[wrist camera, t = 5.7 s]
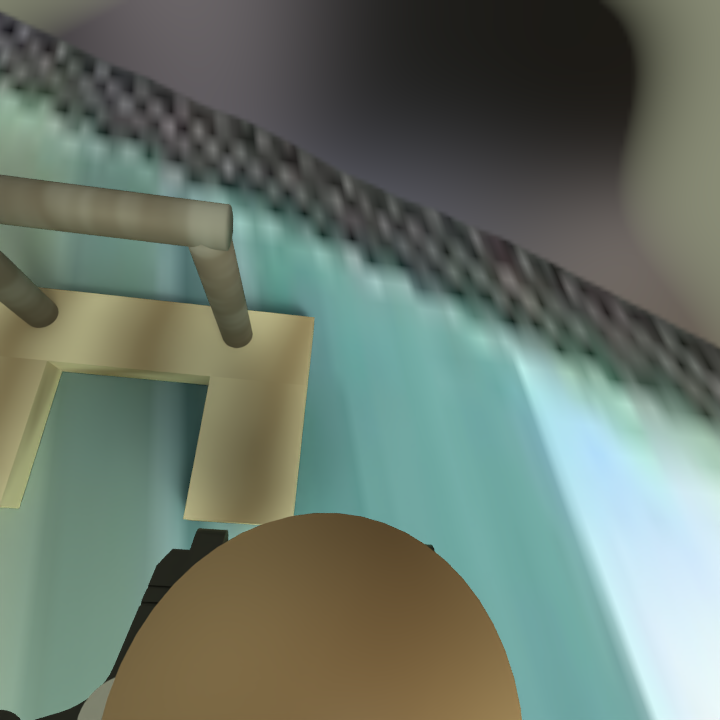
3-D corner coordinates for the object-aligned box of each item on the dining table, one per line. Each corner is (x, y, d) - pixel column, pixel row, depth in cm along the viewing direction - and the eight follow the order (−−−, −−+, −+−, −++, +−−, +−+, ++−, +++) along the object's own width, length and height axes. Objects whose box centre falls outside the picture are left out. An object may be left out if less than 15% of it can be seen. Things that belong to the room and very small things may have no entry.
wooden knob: (198, 719, 14) (26, 1064, 5) (229, 523, 16) (148, 500, 7) (382, 724, 15) (541, 1036, 5) (388, 533, 17) (511, 525, 7)
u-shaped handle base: (-95, 501, 22) (-485, 461, 11) (-12, 294, 26) (-238, 115, 15) (292, 527, 24) (287, 515, 13) (313, 329, 28) (323, 190, 17)
